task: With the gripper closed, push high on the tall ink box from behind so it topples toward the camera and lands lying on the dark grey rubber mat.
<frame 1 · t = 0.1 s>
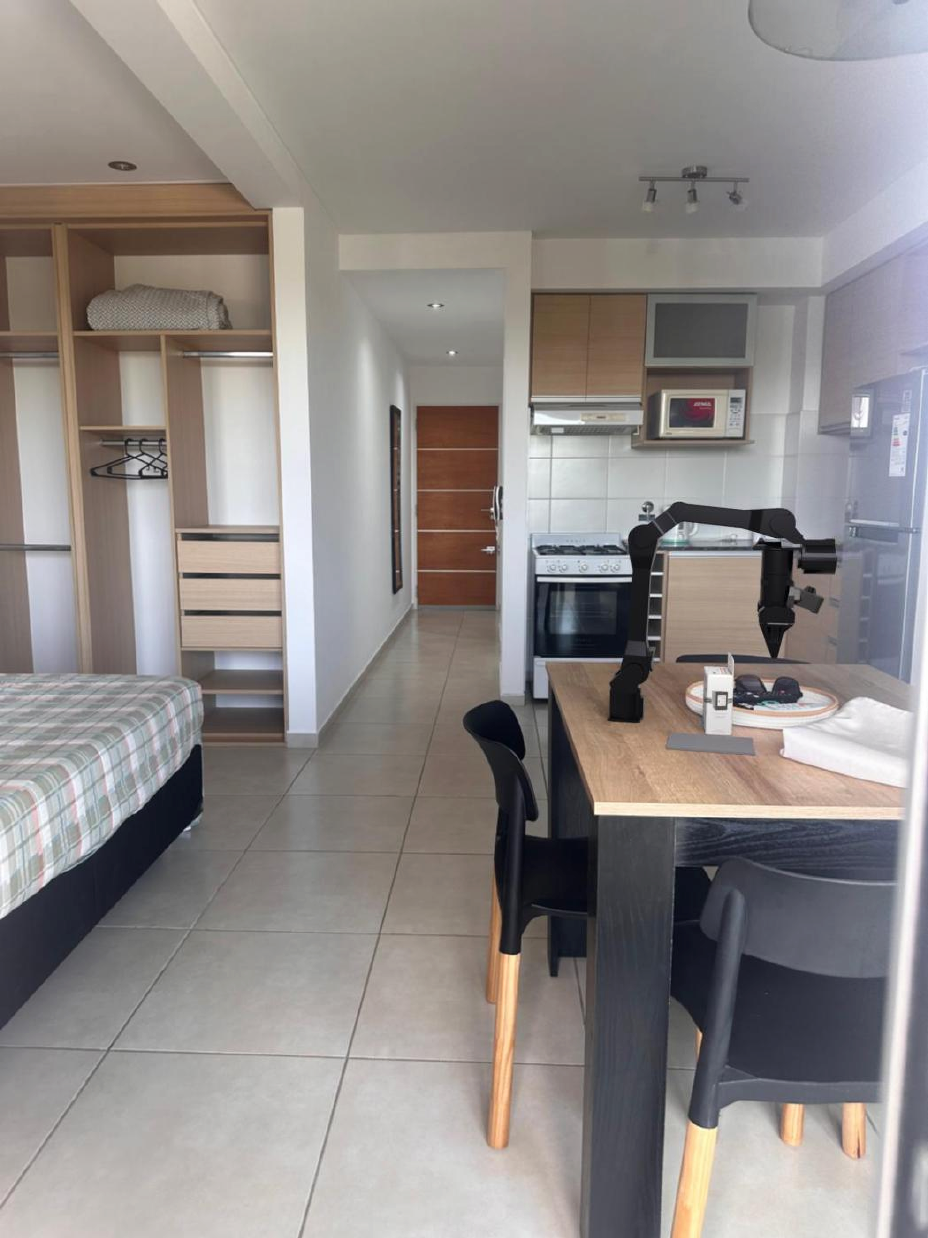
hand: (773, 654, 161), 15 cm above the table, fingers open, 9 cm apart
ink box: (716, 730, 162), on the table
mat: (710, 744, 152), on the table
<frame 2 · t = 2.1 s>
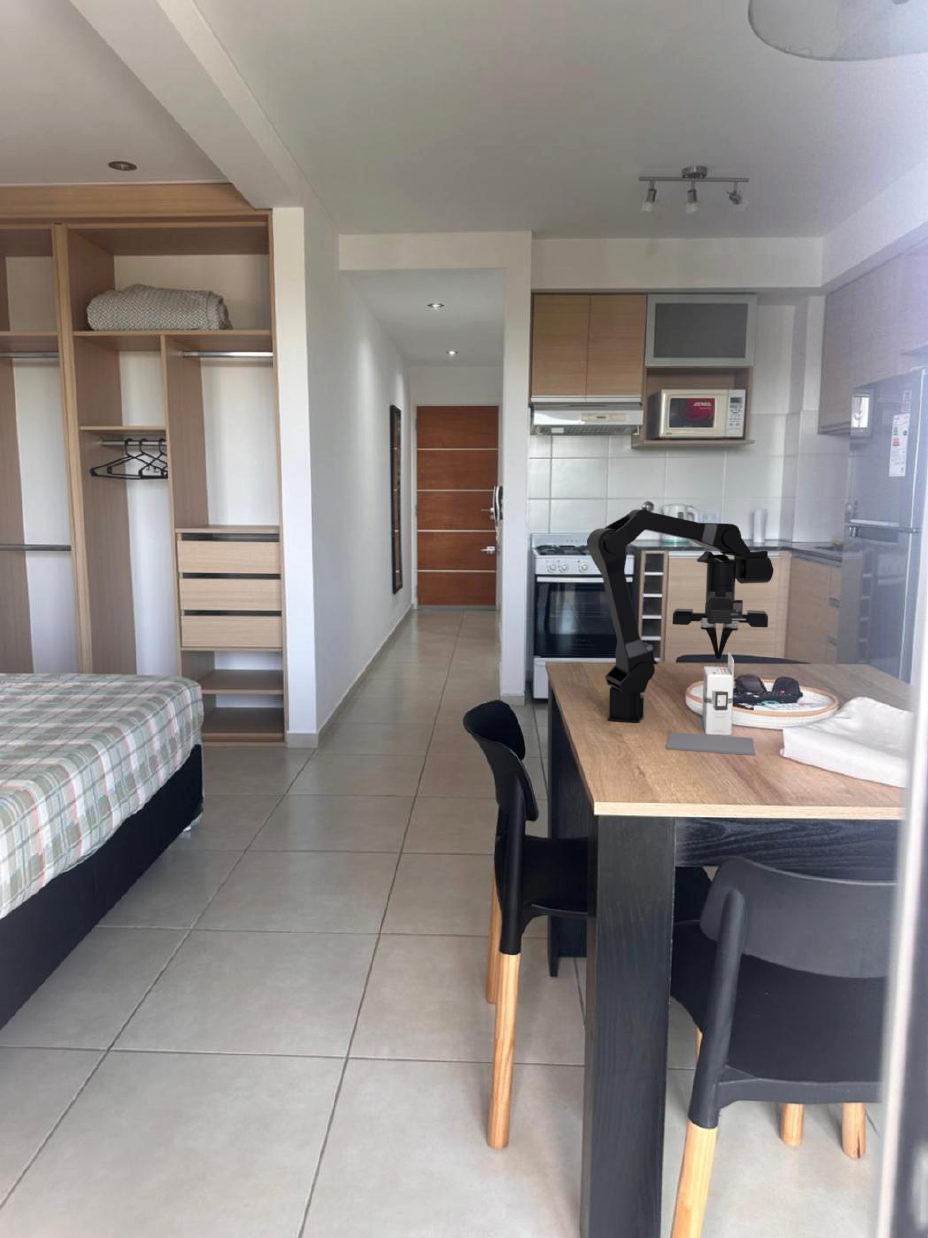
hand: (718, 658, 174), 11 cm above the table, fingers closed
nothing on the table moved.
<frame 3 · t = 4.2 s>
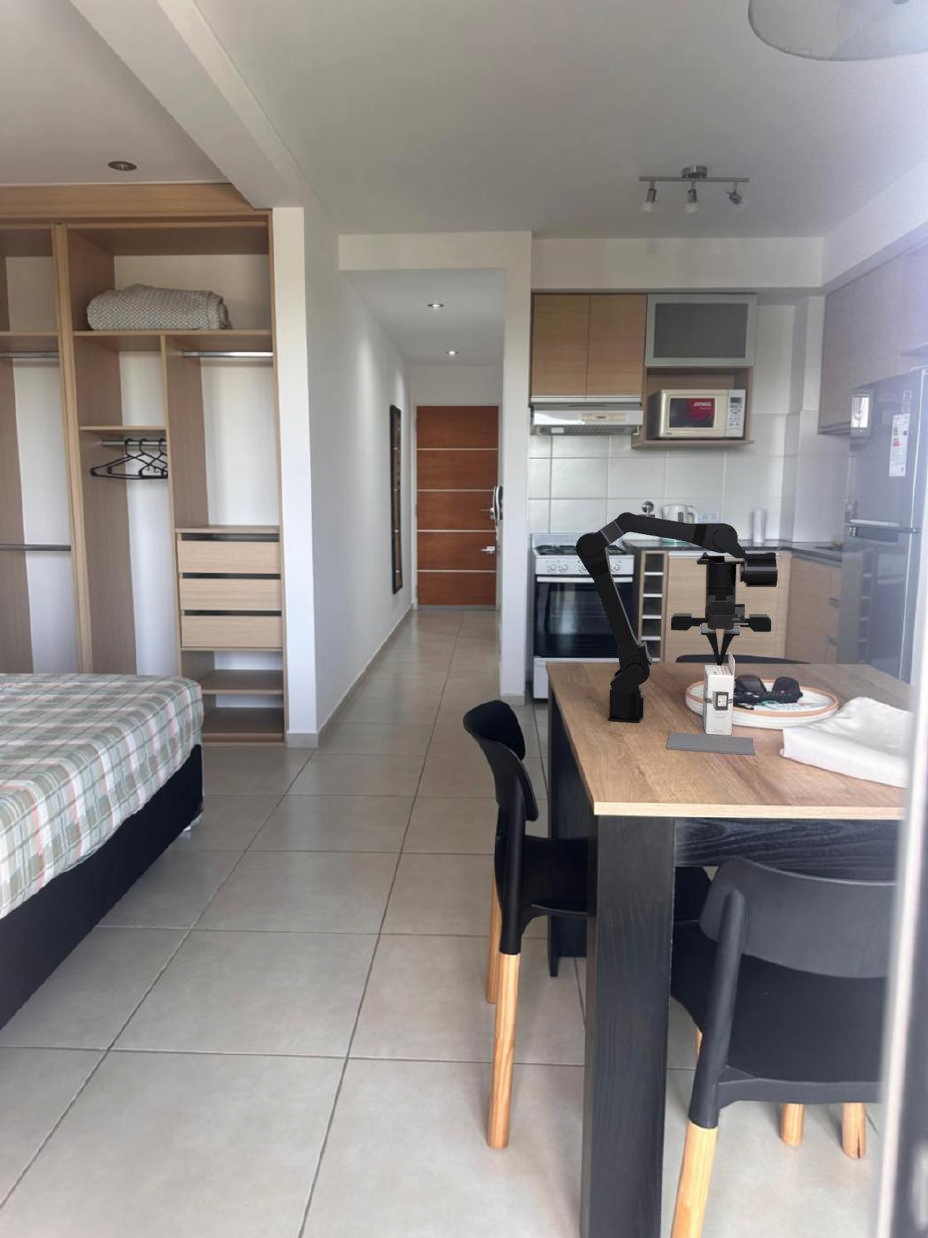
hand: (719, 665, 165), 12 cm above the table, fingers closed
ink box: (716, 729, 162), on the table, touching gripper
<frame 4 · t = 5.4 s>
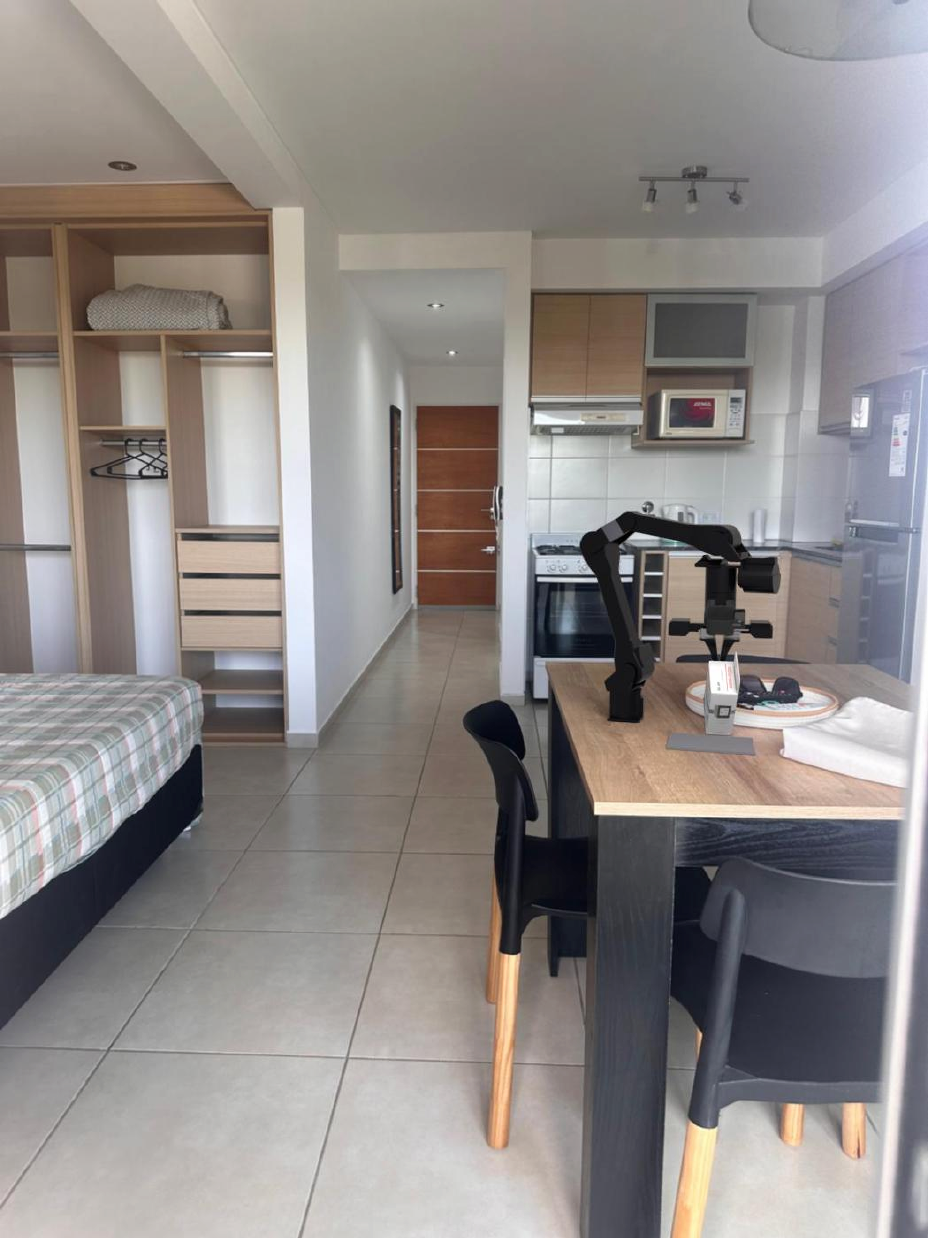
hand: (718, 672, 159), 12 cm above the table, fingers closed
ink box: (717, 719, 161), point 2 cm above the table
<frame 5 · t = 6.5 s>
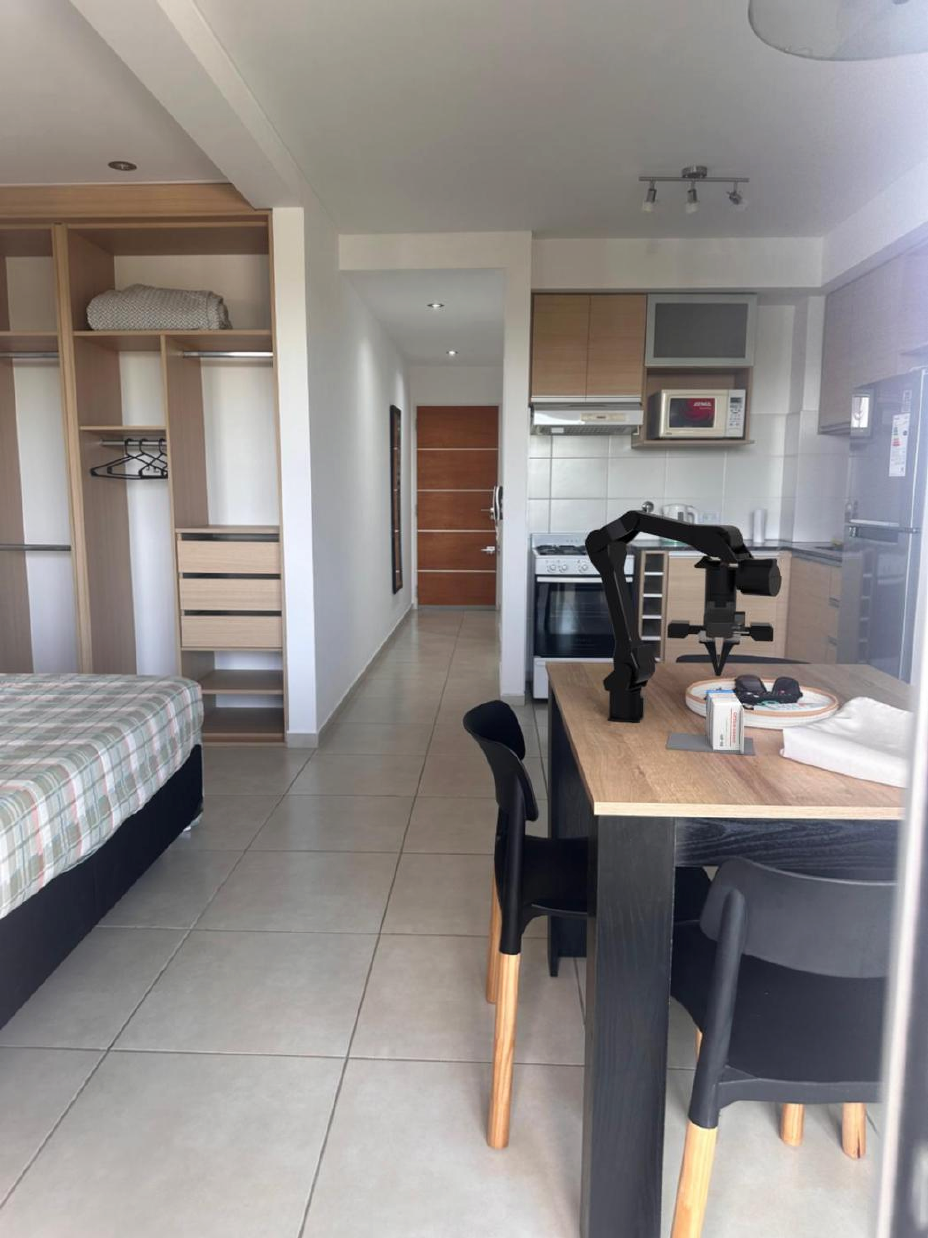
hand: (718, 675, 156), 12 cm above the table, fingers closed
ink box: (718, 711, 158), point 5 cm above the table, touching mat
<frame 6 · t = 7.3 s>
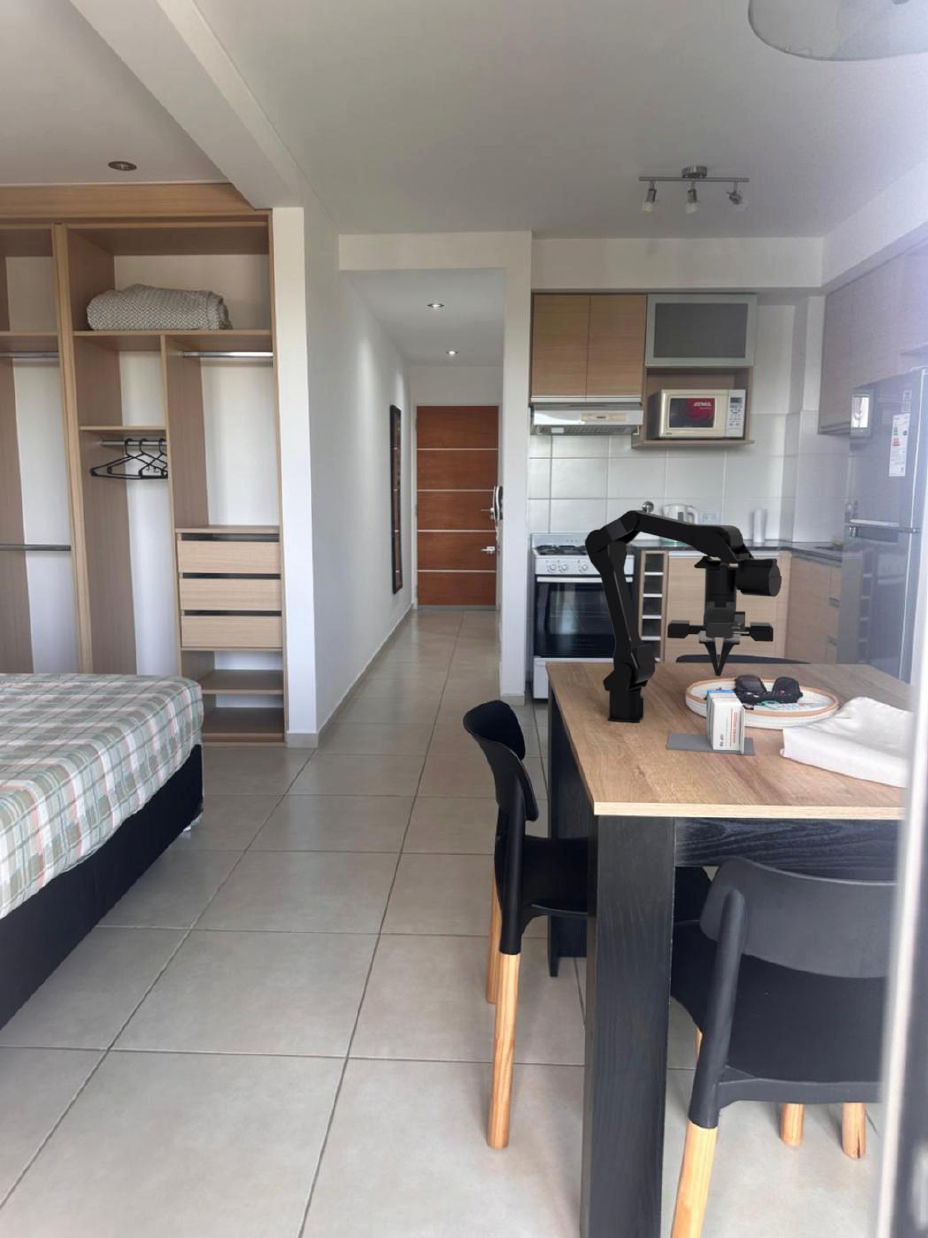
hand: (718, 675, 156), 11 cm above the table, fingers closed
nothing on the table moved.
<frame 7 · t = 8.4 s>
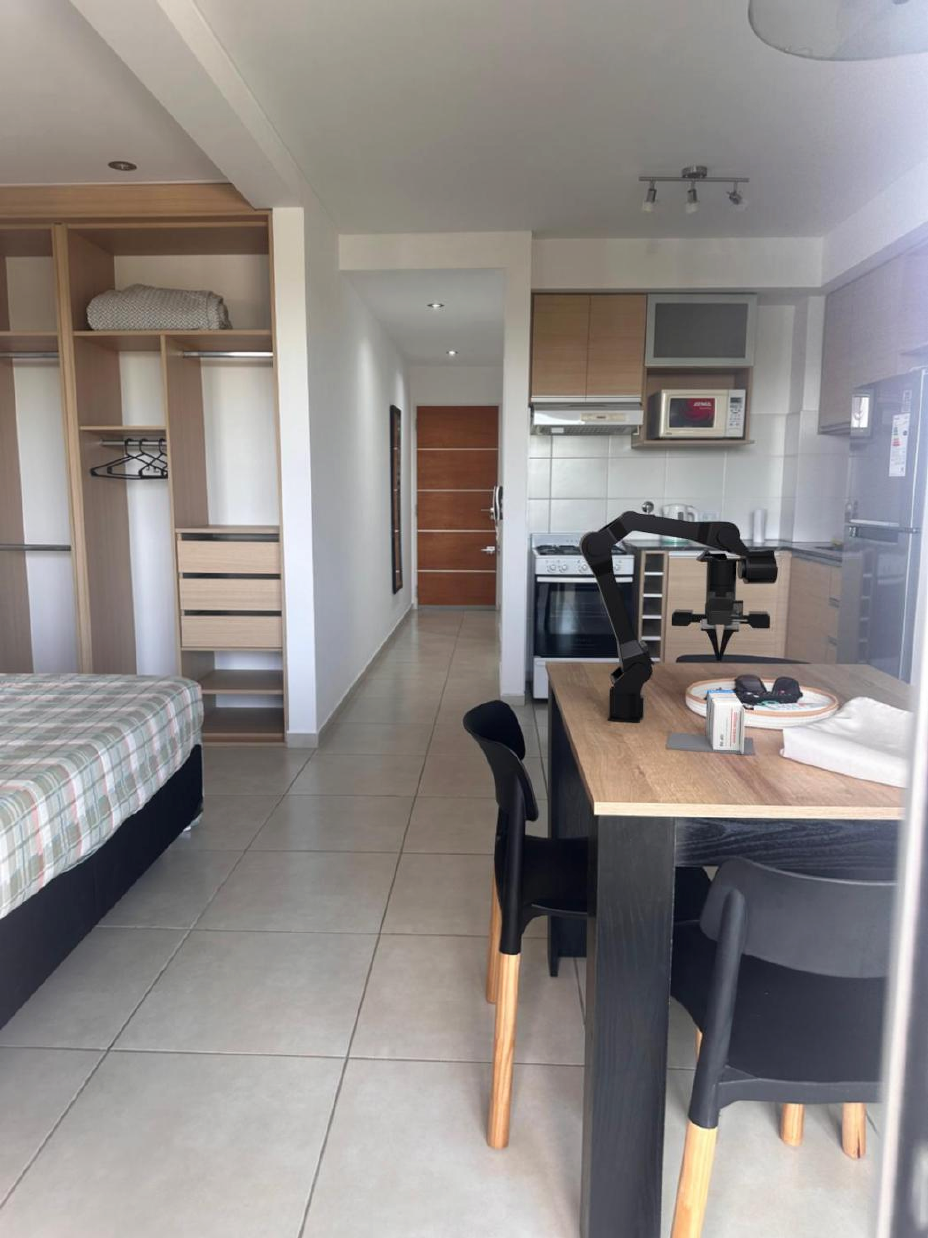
hand: (719, 661, 168), 12 cm above the table, fingers closed
nothing on the table moved.
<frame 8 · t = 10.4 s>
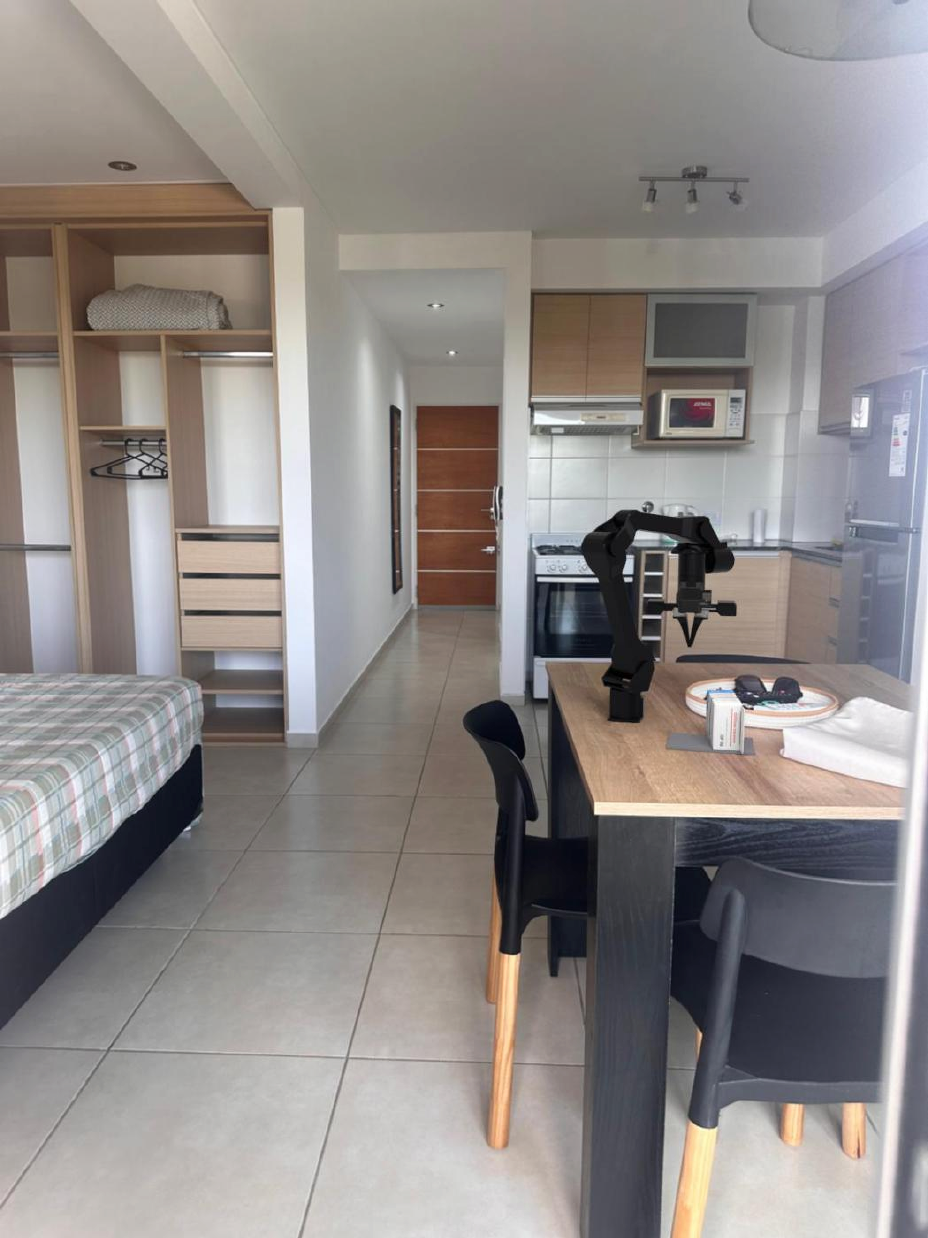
hand: (689, 647, 179), 13 cm above the table, fingers closed
nothing on the table moved.
at the end: ink box tilted 90°; ink box inside the target area (9.7 cm from its centre), point 4.6 cm above the table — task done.
